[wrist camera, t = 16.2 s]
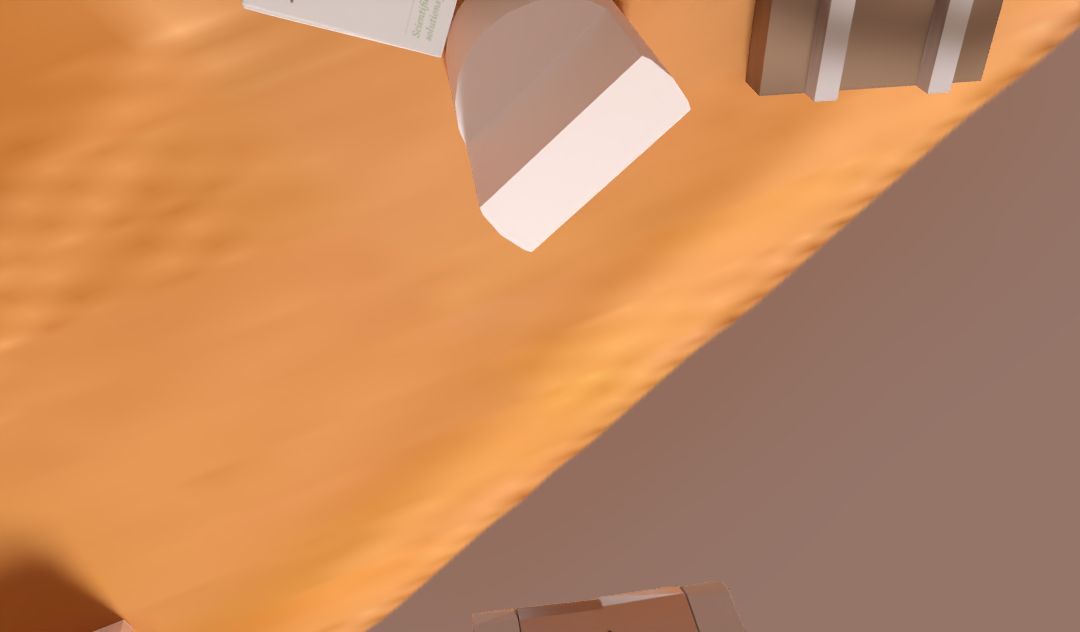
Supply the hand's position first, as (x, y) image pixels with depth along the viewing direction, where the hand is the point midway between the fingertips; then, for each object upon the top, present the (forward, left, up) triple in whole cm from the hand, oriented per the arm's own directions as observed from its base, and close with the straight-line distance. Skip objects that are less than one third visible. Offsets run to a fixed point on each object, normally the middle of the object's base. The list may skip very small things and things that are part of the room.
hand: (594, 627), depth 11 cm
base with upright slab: (+6, +5, -37) cm, 38 cm away
